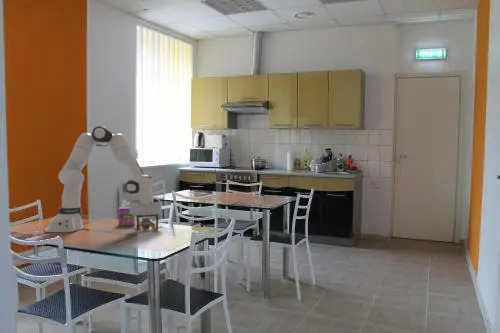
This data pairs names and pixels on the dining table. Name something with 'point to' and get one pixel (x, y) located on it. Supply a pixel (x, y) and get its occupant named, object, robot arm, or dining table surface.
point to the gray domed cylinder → (145, 222)
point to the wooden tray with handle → (152, 224)
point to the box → (125, 216)
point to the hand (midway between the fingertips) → (145, 221)
